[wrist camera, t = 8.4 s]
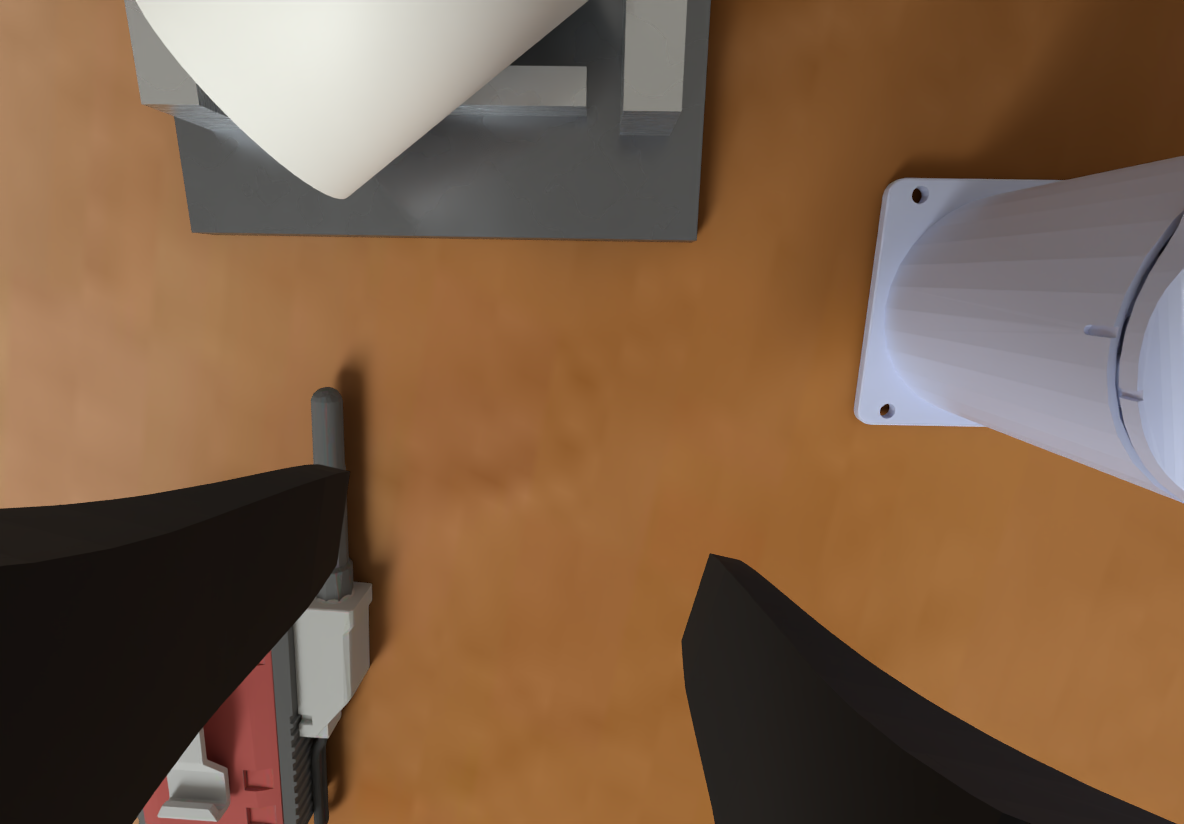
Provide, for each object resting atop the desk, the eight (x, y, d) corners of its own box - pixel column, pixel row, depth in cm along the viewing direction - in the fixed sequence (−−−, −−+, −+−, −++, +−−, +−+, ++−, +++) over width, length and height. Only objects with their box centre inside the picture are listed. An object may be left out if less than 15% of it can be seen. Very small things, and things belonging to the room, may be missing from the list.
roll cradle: (717, -207, 15) (750, -345, 12) (691, 242, 18) (712, 234, 15) (149, -211, 15) (21, -350, 12) (213, 234, 18) (125, 225, 15)
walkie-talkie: (381, 814, 25) (374, 382, 20) (335, 926, 20) (313, 412, 16) (186, 799, 25) (132, 362, 20) (100, 910, 20) (4, 386, 16)
